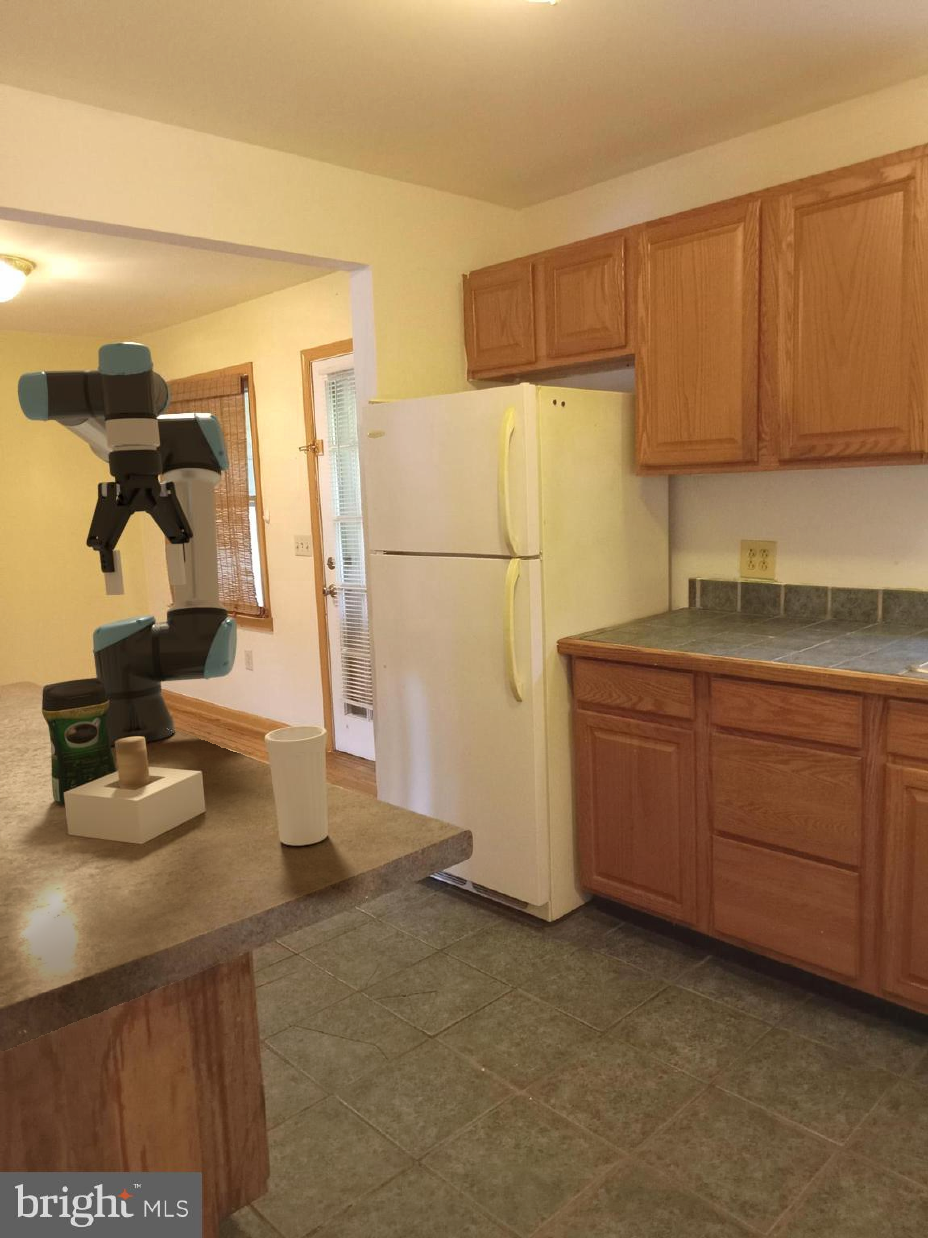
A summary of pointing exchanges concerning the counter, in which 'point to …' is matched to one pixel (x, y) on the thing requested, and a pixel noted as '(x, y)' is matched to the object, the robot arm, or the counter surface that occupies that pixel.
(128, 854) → the counter surface
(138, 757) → the dowel
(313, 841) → the cup
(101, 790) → the socket block
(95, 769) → the coffee jar
